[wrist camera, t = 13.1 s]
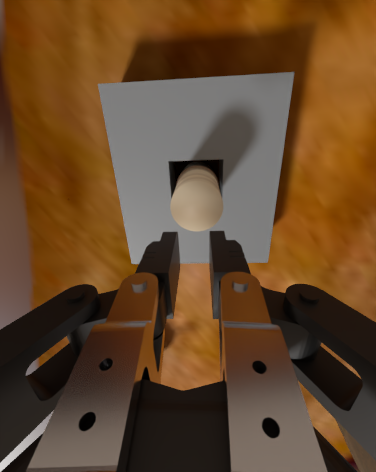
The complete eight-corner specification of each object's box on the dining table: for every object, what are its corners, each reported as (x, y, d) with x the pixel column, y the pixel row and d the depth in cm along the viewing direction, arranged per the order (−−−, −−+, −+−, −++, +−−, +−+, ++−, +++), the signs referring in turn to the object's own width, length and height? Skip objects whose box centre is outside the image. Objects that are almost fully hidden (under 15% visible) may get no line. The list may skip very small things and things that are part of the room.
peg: (179, 158, 26) (166, 180, 16) (215, 157, 26) (225, 178, 16) (181, 194, 28) (171, 233, 18) (215, 193, 27) (223, 232, 18)
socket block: (117, 91, 23) (97, 84, 19) (275, 82, 22) (294, 71, 18) (141, 243, 31) (131, 263, 27) (257, 241, 30) (267, 262, 26)
